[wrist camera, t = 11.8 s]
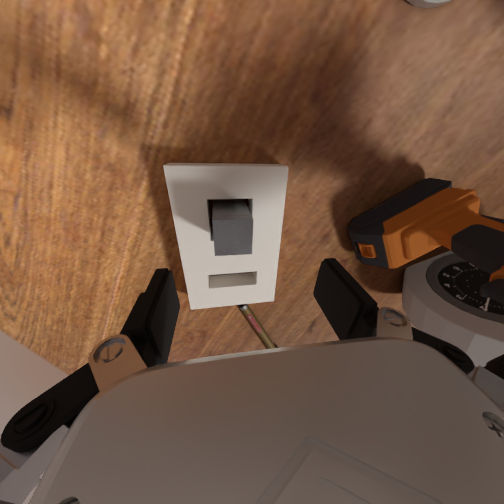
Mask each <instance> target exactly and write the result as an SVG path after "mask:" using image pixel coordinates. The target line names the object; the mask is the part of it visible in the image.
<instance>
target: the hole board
mask: <svg viewBox="0 0 504 504" xmlns="http://www.w3.org/2000/svg"><path fill="white" fill-rule="evenodd" d="M163 168H164V173H165V178H166V183H167V189H168V194H169V199H170V204H171V209H172V214H173V220H174V225H175V230H176V235H177V240H178V245H179V250H180V256H181V261H182V266H183V271H184V276H185V281H186V287H187V292H188V297H189V302H190V307H191V310H192V309H202V308H211V307H221V306H231V305H240V304H250V303H259V302H269V301H274V294H275V285H276V276H277V267H278V258H279V249H280V240H281V231H282V222H283V213H284V204H285V195H286V186H287V177H288V168H289V167H288V166H285V165H282V164H238V163H168V164H165V165H163ZM208 199H249V211H250V213H251V215H252V217H253V242H252V254H246V255H227V256H215V251H214V237H213V231H212V232H211V224H210V213H209V202H208ZM242 272H253V273H242ZM230 273H242V274H230ZM217 274H229V275H217ZM209 275H217V276H209Z"/></svg>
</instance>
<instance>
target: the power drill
mask: <svg viewBox="0 0 504 504" xmlns="http://www.w3.org/2000/svg"><path fill="white" fill-rule="evenodd" d="M479 206H480V199H479V198H478V197H476V191H475V190H471V189H468V190H463V189H461V188H452V181H446V180H440V179H433V178H428V179H424V180H422V181H420V182H418V183H417V184H415V185H413V186H411V187H410V188H408V189H406V190H404V191H402V192H401V193H399V194H397V195H395V196H393V197H392V198H390V199H388V200H386V201H384V202H383V203H381V204H379V205H377V206H375V207H374V208H372V209H370V210H368V211H366V212H365V213H363V214H361V215H359V216H358V217H356V218H354V219H353V220H352V224H351V225H350V226H348V228H347V229H348V232H349V235H350V238H351V241H352V244H353V247H354V250H355V254H356V257H357V259H358V260H359V261H360V262H362V263H363V264H368V265H373V266H378V267H384V268H390V269H392V268H398V267H400V266H402V265H404V264H406V263H408V262H410V261H412V260H414V259H416V258H418V257H420V256H422V255H424V254H426V253H428V252H430V251H432V250H434V249H436V248H438V247H440V246H444V247H446V248H448V249H449V250H451V251H452V252H453V253H455V254H456V255H458V256H459V257H461V258H462V259H464V260H465V261H467V262H469V263H470V264H472V265H473V266H475V267H477V268H479V269H481V270H483V271H485V272H487V273H489V274H491V275H490V281H489V282H488V283H486V284H483V285H481V288H480V296H482V297H487V298H490V299H493V300H496V301H498V302H499V303H501V304H503V305H504V220H503V219H499V218H494V217H489V216H484V215H481V214H479ZM483 368H485V369H487V370H488V371H490V372H492V373H493V374H495V375H497V376H498V377H500V378H502V379H503V380H504V354H503V355H501V356H499V357H496V358H494V359H492V360H490V361H488V362H487V363H486V366H484V367H483Z"/></svg>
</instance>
